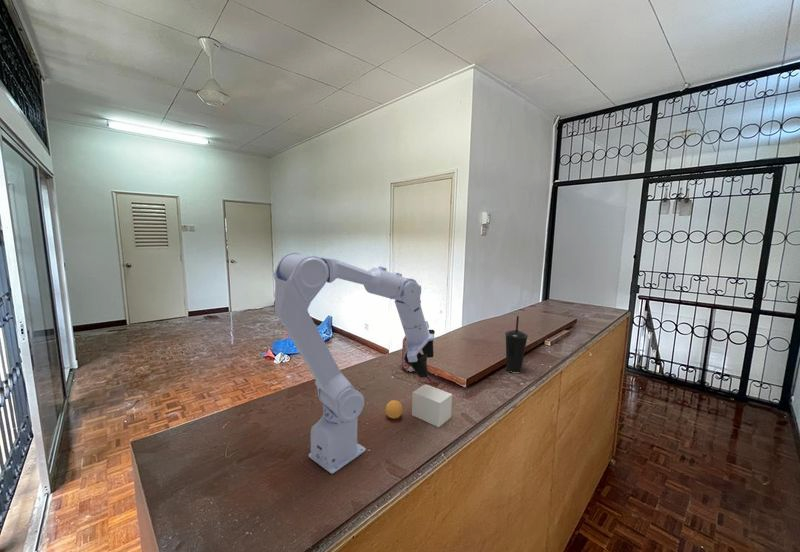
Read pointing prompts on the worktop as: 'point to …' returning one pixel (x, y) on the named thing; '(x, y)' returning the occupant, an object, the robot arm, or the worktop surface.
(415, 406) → the white plastic cube
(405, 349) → the beverage can
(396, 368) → the worktop surface
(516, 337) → the drinking cup
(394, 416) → the ball
